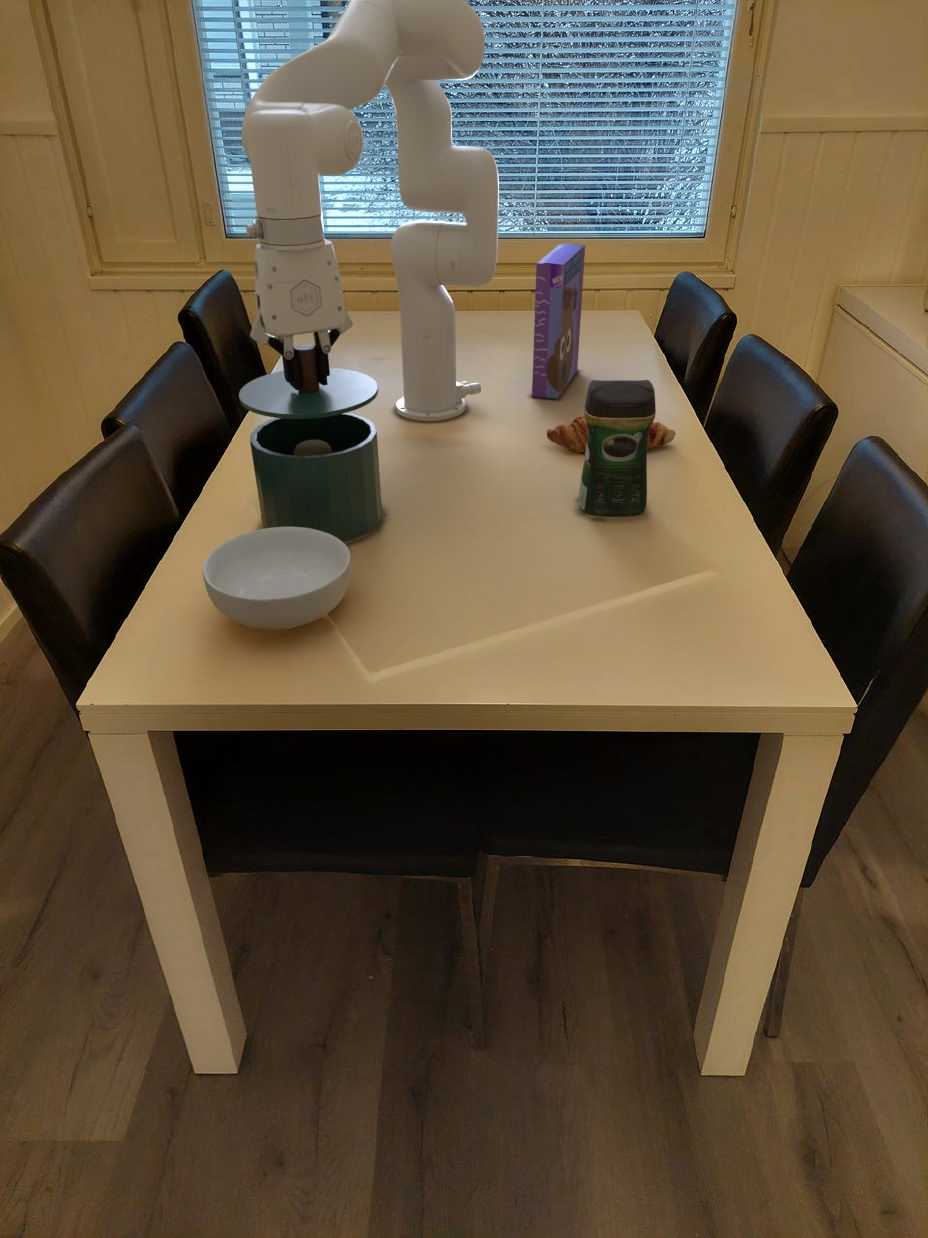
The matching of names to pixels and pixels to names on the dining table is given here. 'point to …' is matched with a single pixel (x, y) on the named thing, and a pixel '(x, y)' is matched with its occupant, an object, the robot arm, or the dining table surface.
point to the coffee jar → (616, 447)
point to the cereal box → (557, 319)
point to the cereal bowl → (278, 576)
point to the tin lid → (308, 391)
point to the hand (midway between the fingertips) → (308, 383)
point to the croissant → (577, 435)
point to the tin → (319, 475)
